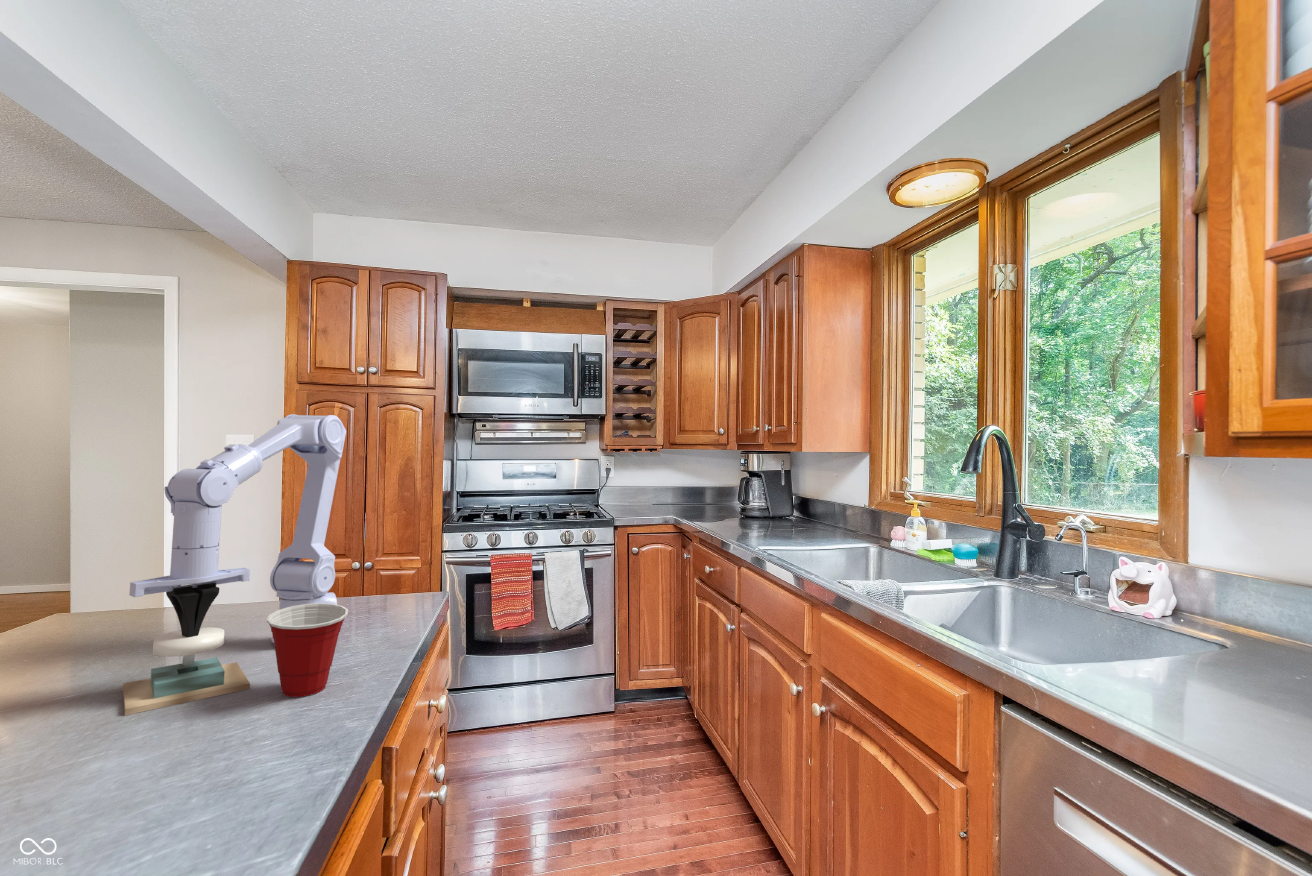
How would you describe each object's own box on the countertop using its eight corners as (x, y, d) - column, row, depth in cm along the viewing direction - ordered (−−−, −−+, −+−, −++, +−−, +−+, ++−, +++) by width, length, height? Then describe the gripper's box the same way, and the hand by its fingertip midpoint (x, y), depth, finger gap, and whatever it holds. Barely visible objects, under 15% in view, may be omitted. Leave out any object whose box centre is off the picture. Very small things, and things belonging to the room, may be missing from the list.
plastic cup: (264, 712, 79) (269, 625, 79) (259, 686, 87) (264, 608, 88) (350, 694, 86) (355, 614, 86) (338, 672, 94) (342, 599, 95)
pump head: (218, 650, 92) (220, 624, 92) (226, 665, 86) (228, 636, 86) (149, 662, 86) (151, 634, 86) (153, 678, 80) (155, 647, 80)
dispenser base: (236, 667, 95) (237, 650, 95) (249, 688, 86) (250, 670, 87) (122, 688, 85) (123, 669, 85) (124, 715, 77) (126, 694, 77)
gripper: (237, 539, 95) (232, 620, 94) (124, 549, 83) (117, 642, 82) (258, 543, 92) (253, 627, 91) (143, 554, 79) (136, 652, 78)
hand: (190, 635), depth 86 cm, fingers closed, pressing on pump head
